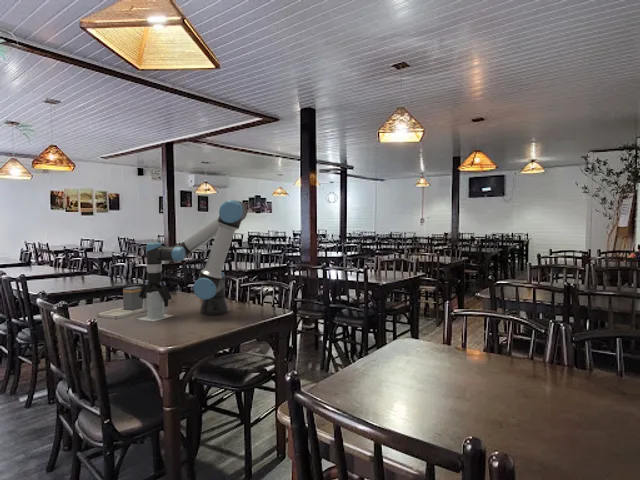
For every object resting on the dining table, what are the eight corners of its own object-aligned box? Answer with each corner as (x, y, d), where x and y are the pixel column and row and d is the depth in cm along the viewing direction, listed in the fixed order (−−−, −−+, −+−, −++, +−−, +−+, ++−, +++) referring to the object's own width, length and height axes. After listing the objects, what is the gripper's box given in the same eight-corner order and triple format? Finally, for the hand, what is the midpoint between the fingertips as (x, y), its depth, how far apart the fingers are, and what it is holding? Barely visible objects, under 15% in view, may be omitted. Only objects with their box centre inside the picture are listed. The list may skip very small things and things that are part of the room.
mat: (173, 315, 228) (173, 315, 228) (153, 321, 215) (153, 321, 215) (156, 313, 232) (156, 313, 232) (136, 319, 220) (136, 318, 220)
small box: (163, 317, 223) (163, 293, 222) (151, 319, 218) (151, 294, 218) (158, 314, 229) (158, 291, 228) (146, 316, 225) (146, 292, 224)
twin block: (142, 309, 241) (142, 287, 241) (131, 312, 234) (131, 289, 233) (134, 308, 244) (134, 286, 243) (123, 311, 236) (122, 288, 236)
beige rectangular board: (151, 310, 242) (150, 307, 242) (116, 319, 220) (116, 316, 220) (132, 308, 247) (132, 305, 247) (97, 316, 225) (97, 313, 225)
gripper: (177, 272, 221) (178, 312, 222) (142, 270, 231) (143, 308, 232) (167, 274, 214) (168, 315, 215) (131, 271, 224) (132, 310, 225)
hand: (155, 311), depth 223 cm, fingers open, 13 cm apart
